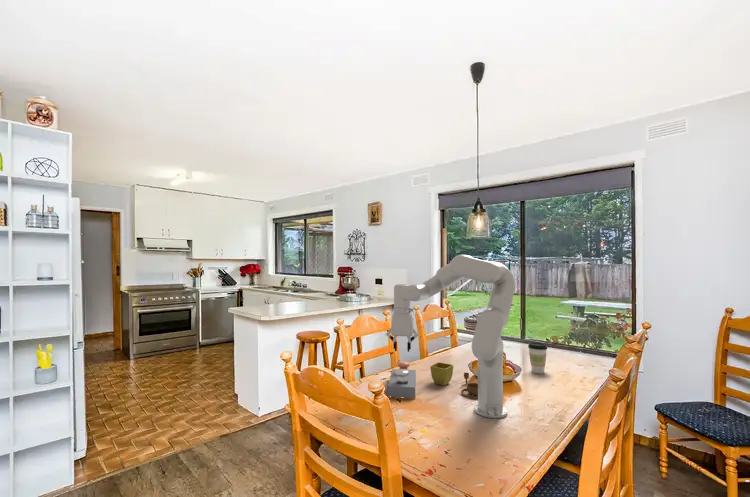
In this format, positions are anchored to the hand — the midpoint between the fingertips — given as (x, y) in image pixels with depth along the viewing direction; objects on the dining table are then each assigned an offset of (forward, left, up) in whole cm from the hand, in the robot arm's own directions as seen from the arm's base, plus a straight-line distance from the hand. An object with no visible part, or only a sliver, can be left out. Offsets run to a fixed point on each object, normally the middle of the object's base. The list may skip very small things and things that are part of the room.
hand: (402, 350), depth 163 cm
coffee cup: (+43, -73, -20) cm, 87 cm away
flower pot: (+16, -19, -20) cm, 32 cm away
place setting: (+7, -34, -20) cm, 40 cm away
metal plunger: (0, 0, -16) cm, 16 cm away
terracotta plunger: (+14, 0, -16) cm, 21 cm away
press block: (+7, 0, -19) cm, 21 cm away
